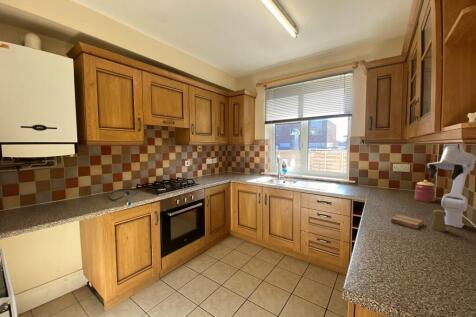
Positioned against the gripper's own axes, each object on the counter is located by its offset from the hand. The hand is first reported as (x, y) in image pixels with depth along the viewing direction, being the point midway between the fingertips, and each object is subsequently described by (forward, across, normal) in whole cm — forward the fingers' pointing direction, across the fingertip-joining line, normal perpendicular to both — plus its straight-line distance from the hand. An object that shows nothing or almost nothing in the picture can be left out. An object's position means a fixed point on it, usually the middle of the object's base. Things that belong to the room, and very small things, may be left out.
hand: (442, 177), depth 102 cm
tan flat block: (+16, -17, +26) cm, 35 cm away
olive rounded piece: (+13, -4, +30) cm, 33 cm away
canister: (-37, -32, +76) cm, 91 cm away
